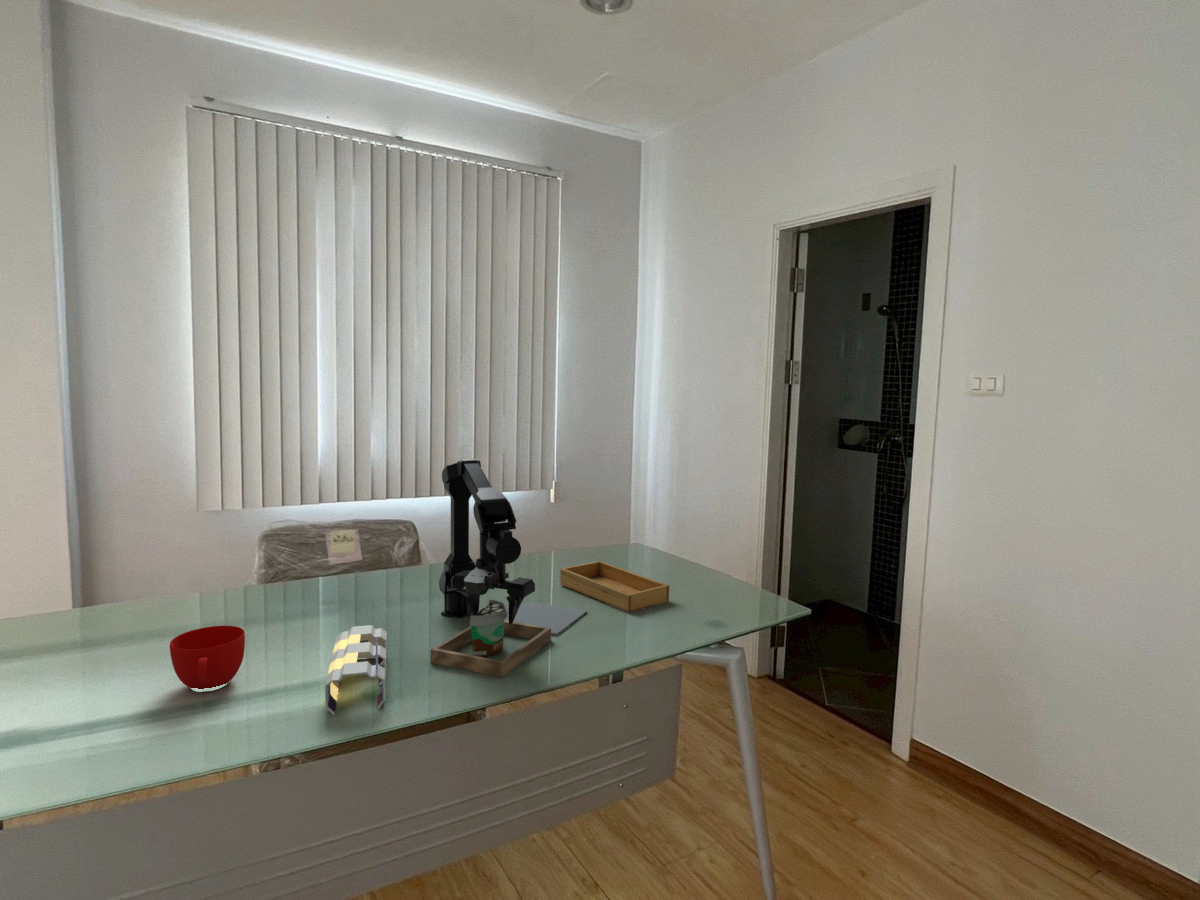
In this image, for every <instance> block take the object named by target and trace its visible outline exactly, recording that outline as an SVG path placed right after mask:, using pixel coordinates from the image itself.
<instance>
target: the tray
mask: <svg viewBox="0 0 1200 900" xmlns="http://www.w3.org/2000/svg"><path fill="white" fill-rule="evenodd" d="M559 571H560V572H559V573H560V574H559V575H560V577H559V578H560V579H559V580H560V586H562V587H565V588H567V589H570V590H572V589H573V591H575V592H578V593H580V594H582V595H584V596H587V597H589V598H591V597H592V599H594V600H596V599H597V601H599V602H601V601H602V602H601V603H603V602H604V603H603V604H605V603H606V605H608V604H609V605H608V606H610V605H611V607H613V606H614V607H613V608H615V607H616V608H615V609H617V608H619V609H621V610H620V611H622V610H623V612H624V611H626V612H625V613H627V612H628V613H627V614H630V613H629V612H631V613H634V612H633V611H635V612H637V611H636V610H638V611H641V610H640V609H642V610H644V609H643V608H646V609H648V607H649V608H652V607H651V606H653V607H655V605H656V606H659V604H660V605H664V604H667V603H669V600H670V585H669V584H666V583H665V582H661V581H658V580H656V579H653V578H650V577H646V576H643V575H641V574H638V573H635V572H632V571H629V570H627V569H624V568H621V567H617V566H615V565H612V564H609V563H606V562H603V561H602V560H598V561H596V560H595V561H592V562H586V563H582V564H577V565H572V566H567V567H562V568H560V570H559ZM619 609H618V610H619Z"/></svg>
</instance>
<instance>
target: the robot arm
mask: <svg viewBox="0 0 1200 900" xmlns="http://www.w3.org/2000/svg"><path fill="white" fill-rule="evenodd" d="M441 479H442V483H443V487H444V490H445V492H446V493H447V495H448V496H449V497H450V552H449V555H448V556H447V557H446V559H445V561H444V563H443V564H444V565H443V570H442V572H441V575H440V578H439V580H438V585H439V591H440V592H441V593H442V594H443V595H444V596H443V597H444V599H443V601H444V610H443V611H441V612H440V615H442V616H447V617H455V618H459V619H460V618H464V617H466V616H467V615H468V614H472V616H476V615H477V614H478V613H479V611H480V601H481V600H480V598H481V596H483V595H486V594H487V593H488V591H489V590H495V589H499V590H506V593H507V595H508V596H507V597H505V599H506V600H507V602H508V613H509V616H508V618H509V624H512V623H513V621H514V619H515V616H516V614H517V612H518V609H519V607H520V606H521V605H522V604H523V603H522V602H523V601H524V599H525V598H526V597H527V596H529V595H530V594H533V593H534V592H536V583H535V581H534V580H533V579H532V578H527V577H517V578H515V579H513V580H506V579H508V578H509V577H510V576H509V575H510V573H509V572H507V571H506V569H507V568H506V567H507V566H506V565H507V564H512V563H514V562H516V561H517V560H518V559H519V557H520V556H521V553H522V546H521V544H520V541H519V540H518V539H517V538H516V537H514V536H513V530H516V528H517V526H516V524H517V518H516V515H515V513H514V510H513V507H512V505H511V502H510V501H509V500H508V498H507V497H506V496H505V495H504V494H503V492H501V491H499V490H496V489H494V488H493V486H492V485H491V483H490V481H489V479H488V477H487V475H486V473H485V472H484V470H483V469H482V465H481V461H480V459H477V458H468V459H465V458H464V459H460V460H458V461H456V462H455V463H451V464H447V465H446V466H445V468H443V469H442V472H441ZM471 497H472V498H473V500H474V504H473V512H472V513H473V517H474V519H475V523H476V525H477V528H478V530H479V557H477V558H476V561H473V558H472V557H471V556H470V550H469V548H470V540H469V539H470V499H471Z"/></svg>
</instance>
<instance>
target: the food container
mask: <svg viewBox="0 0 1200 900" xmlns="http://www.w3.org/2000/svg"><path fill="white" fill-rule="evenodd" d="M508 613H509V612H508V610H507V607H506V604H505V603H504V602H502V601H499V600H497V599H496V600H495V599H488V604H487V605H486V606H485V607H483V608H481V609H479V612H478V614H477V615H476V616H473V615H470V618H469V627H470V626H471V632H472V641H471V645H472V646H471V647H472V655H474V656H479V657H484V658H492V657H495V656H498V655H499V654H501V653H502V652H503V650H504V635H505V634H504V623H505V619H506V618H507V616H508Z"/></svg>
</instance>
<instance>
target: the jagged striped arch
mask: <svg viewBox="0 0 1200 900" xmlns="http://www.w3.org/2000/svg"><path fill="white" fill-rule="evenodd" d="M371 657H376V658H375V664H373V665H372V664H371V663H370V662H369V661H368V660H366V661H358V660H357V658H371ZM378 657H381V658H378ZM330 659H331V660H330V664H329V667H328V671H327V677H326V680H325V685H324V699H325V700H324V701H325V702H324V703H325V709H326V710H328V711H329V713H331V715H332V714H333V713H334V711H335V712H336V707H337V702H336V700H337V701H338V697H337V695H338V696H339V692H338V690H339V691H340V687H339V684H340V685H341V682H340V680H341V681H342V678H343V677H347V676H348V677H349V676H359V675H366V676H368V678H369V679H373V678H378V686H379V685H381V689H382V690H381V691H380V692H379V693H378V696H377V705H376V709H377V710H380V708H381V706H382V705H383V704H384V702H385V701H386V679H387V659H388V632H387V631H386V630H384V629H383V628H382V627H379V628H375V627H374V626H373V624H371V625H359V626H357V625H356V626H351V627H350V629H349V630H346V631H342V632H340V633H339V634H338V635H336V639H335V643H334V647H333V651H332V656H331V658H330ZM379 659H380V661H379ZM380 665H382V666H380ZM335 706H336V707H335ZM334 714H335V713H334ZM334 714H333V715H334Z"/></svg>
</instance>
